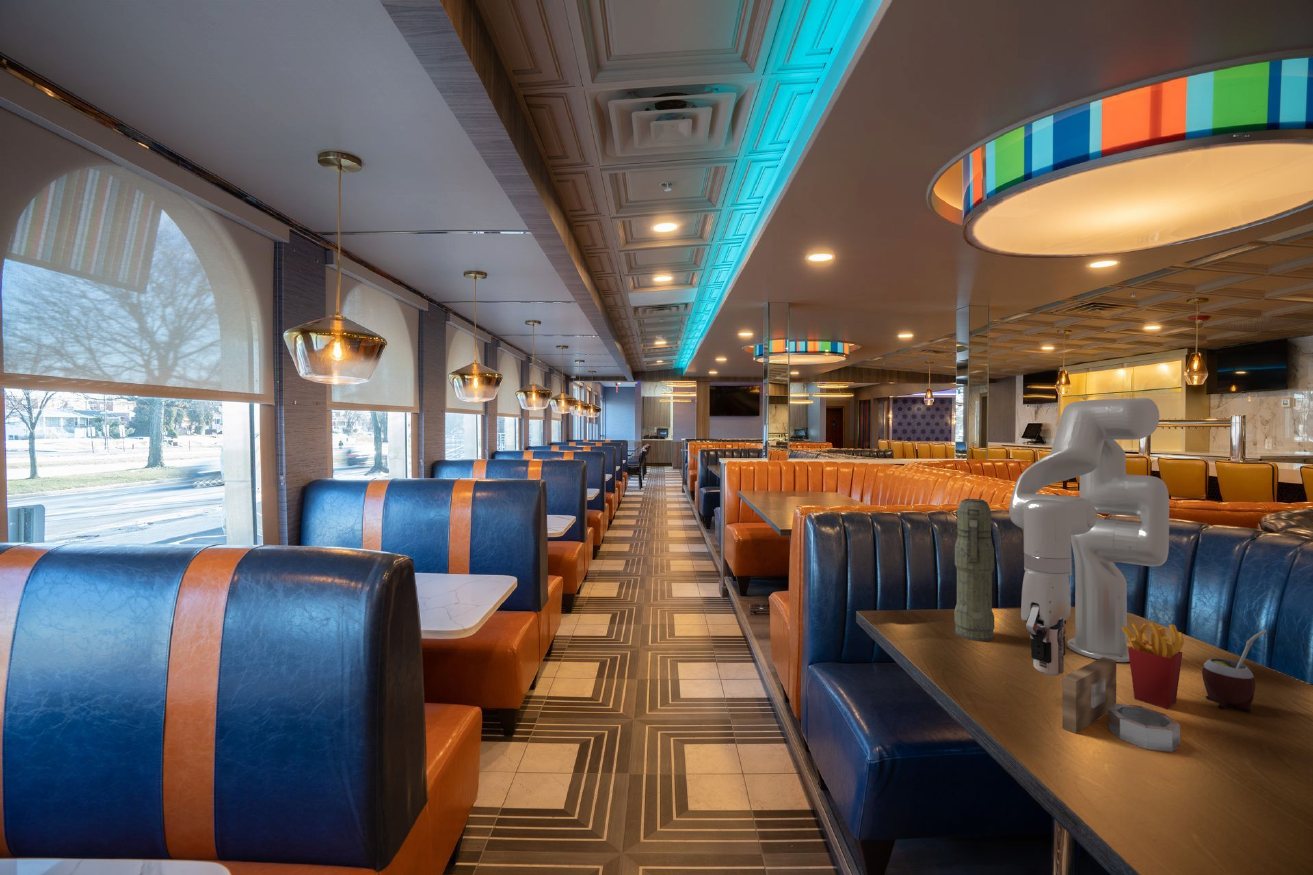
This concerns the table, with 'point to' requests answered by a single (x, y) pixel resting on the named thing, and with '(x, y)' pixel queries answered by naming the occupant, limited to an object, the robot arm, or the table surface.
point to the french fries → (1155, 664)
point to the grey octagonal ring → (1144, 727)
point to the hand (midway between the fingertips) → (1048, 656)
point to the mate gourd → (1230, 680)
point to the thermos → (974, 571)
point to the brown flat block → (1088, 694)
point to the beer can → (1053, 651)
